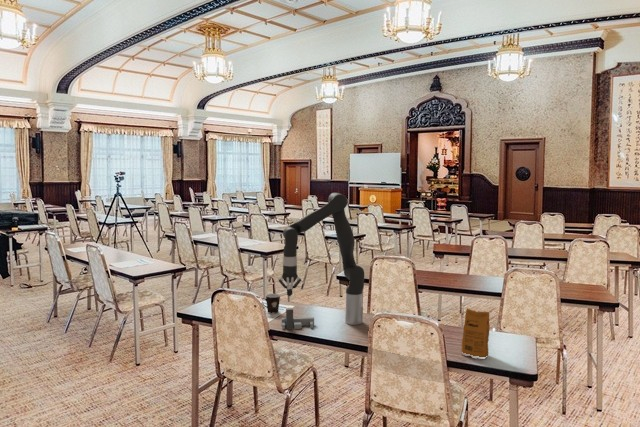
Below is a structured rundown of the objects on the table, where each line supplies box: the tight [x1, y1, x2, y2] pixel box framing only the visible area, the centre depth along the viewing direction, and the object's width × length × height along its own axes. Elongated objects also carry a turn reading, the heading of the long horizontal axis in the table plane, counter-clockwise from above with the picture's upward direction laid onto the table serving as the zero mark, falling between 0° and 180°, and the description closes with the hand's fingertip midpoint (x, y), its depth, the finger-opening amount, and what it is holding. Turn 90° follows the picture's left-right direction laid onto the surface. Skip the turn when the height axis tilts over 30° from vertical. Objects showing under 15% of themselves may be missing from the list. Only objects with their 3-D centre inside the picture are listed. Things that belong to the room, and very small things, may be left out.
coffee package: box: [461, 308, 490, 357], centre depth 229 cm, size 10×12×22 cm
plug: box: [285, 305, 294, 330], centre depth 265 cm, size 4×4×12 cm
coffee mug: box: [261, 293, 281, 314], centre depth 295 cm, size 12×9×10 cm
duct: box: [280, 316, 315, 330], centre depth 268 cm, size 18×7×4 cm, turn 98°
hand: (289, 295), depth 263 cm, fingers closed
